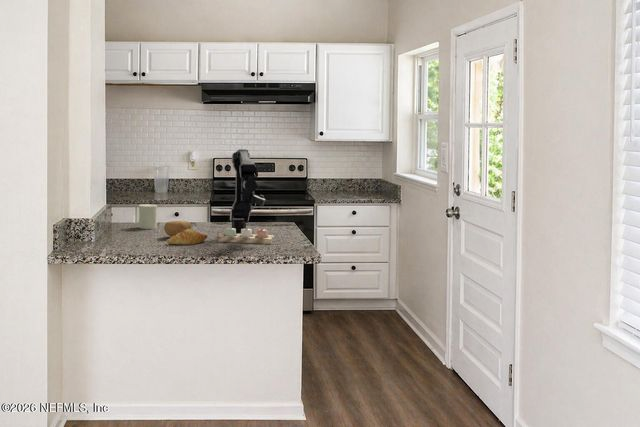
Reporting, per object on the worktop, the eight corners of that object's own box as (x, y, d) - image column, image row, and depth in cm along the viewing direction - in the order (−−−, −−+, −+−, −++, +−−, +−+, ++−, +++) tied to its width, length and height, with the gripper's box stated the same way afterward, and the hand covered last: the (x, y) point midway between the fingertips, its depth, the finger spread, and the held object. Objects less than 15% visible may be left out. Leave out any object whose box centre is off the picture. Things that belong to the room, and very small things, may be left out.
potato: (196, 237, 385) (196, 221, 384) (170, 239, 376) (170, 223, 375) (185, 234, 393) (185, 218, 392) (159, 237, 383) (160, 220, 382)
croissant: (170, 253, 361) (174, 239, 357) (160, 240, 366) (164, 226, 363) (209, 248, 375) (214, 234, 371) (199, 235, 381) (203, 222, 377)
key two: (240, 241, 378) (240, 229, 378) (241, 239, 383) (241, 228, 382) (250, 242, 378) (250, 230, 377) (252, 240, 383) (252, 228, 382)
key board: (217, 241, 376) (218, 236, 375) (221, 238, 387) (222, 233, 386) (271, 243, 375) (271, 238, 374) (273, 240, 385) (273, 235, 385)
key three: (255, 242, 378) (256, 230, 377) (257, 240, 383) (257, 228, 382) (266, 242, 378) (266, 230, 377) (267, 241, 383) (268, 229, 382)
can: (160, 227, 413) (161, 204, 412) (147, 229, 405) (148, 205, 404) (147, 225, 418) (147, 202, 417) (134, 227, 410) (134, 204, 409)
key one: (224, 240, 379) (224, 228, 378) (226, 239, 383) (226, 227, 383) (234, 241, 378) (235, 229, 378) (236, 239, 383) (236, 227, 383)
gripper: (262, 192, 368) (261, 226, 370) (266, 188, 386) (265, 220, 388) (237, 191, 368) (237, 225, 370) (243, 187, 387) (242, 219, 389)
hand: (246, 222), depth 379 cm, fingers closed
